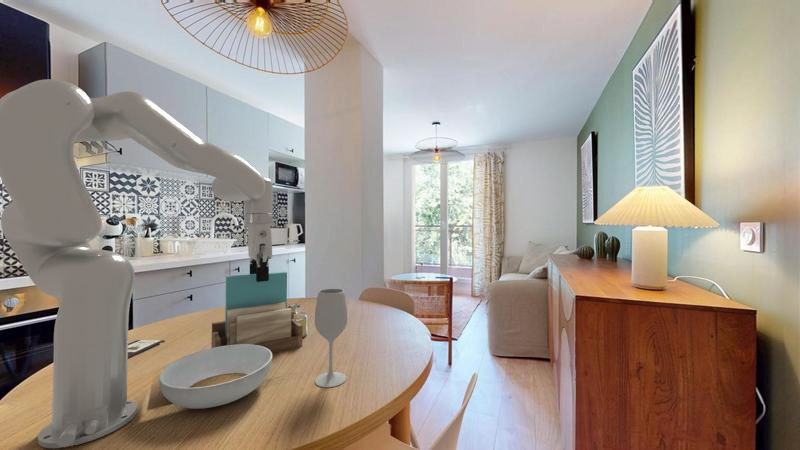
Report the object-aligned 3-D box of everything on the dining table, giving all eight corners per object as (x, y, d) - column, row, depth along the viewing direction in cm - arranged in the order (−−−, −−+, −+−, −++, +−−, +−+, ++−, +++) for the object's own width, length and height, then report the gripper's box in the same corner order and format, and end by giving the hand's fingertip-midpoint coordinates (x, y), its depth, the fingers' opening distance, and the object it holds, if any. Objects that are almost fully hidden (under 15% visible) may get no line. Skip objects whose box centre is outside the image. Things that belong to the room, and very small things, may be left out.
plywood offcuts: (290, 347, 88) (291, 303, 89) (227, 360, 79) (228, 312, 79) (287, 343, 91) (288, 301, 91) (226, 356, 82) (227, 309, 82)
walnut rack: (302, 351, 89) (302, 318, 90) (214, 370, 77) (215, 332, 77) (292, 340, 98) (292, 311, 98) (211, 357, 85) (211, 322, 85)
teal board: (286, 342, 92) (287, 272, 93) (225, 354, 83) (226, 277, 83) (284, 340, 94) (285, 271, 94) (224, 352, 85) (225, 276, 85)
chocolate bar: (74, 365, 78) (137, 340, 96) (74, 369, 78) (137, 343, 96) (108, 366, 78) (164, 340, 96) (108, 369, 78) (164, 343, 96)
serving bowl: (151, 393, 66) (151, 361, 66) (252, 364, 81) (253, 338, 81) (168, 441, 51) (168, 399, 51) (288, 394, 66) (288, 362, 66)
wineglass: (314, 390, 68) (314, 295, 68) (314, 374, 75) (314, 288, 75) (348, 385, 70) (349, 293, 70) (345, 370, 77) (345, 287, 77)
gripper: (279, 219, 84) (280, 281, 84) (265, 220, 99) (265, 273, 98) (250, 219, 80) (250, 285, 80) (239, 220, 94) (239, 276, 94)
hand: (258, 278), depth 89 cm, fingers open, 9 cm apart
